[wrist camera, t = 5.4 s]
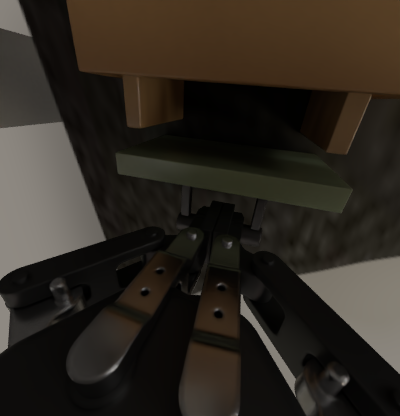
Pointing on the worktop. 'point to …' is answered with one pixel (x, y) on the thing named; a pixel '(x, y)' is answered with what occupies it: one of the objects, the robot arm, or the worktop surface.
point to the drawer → (241, 154)
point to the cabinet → (244, 42)
